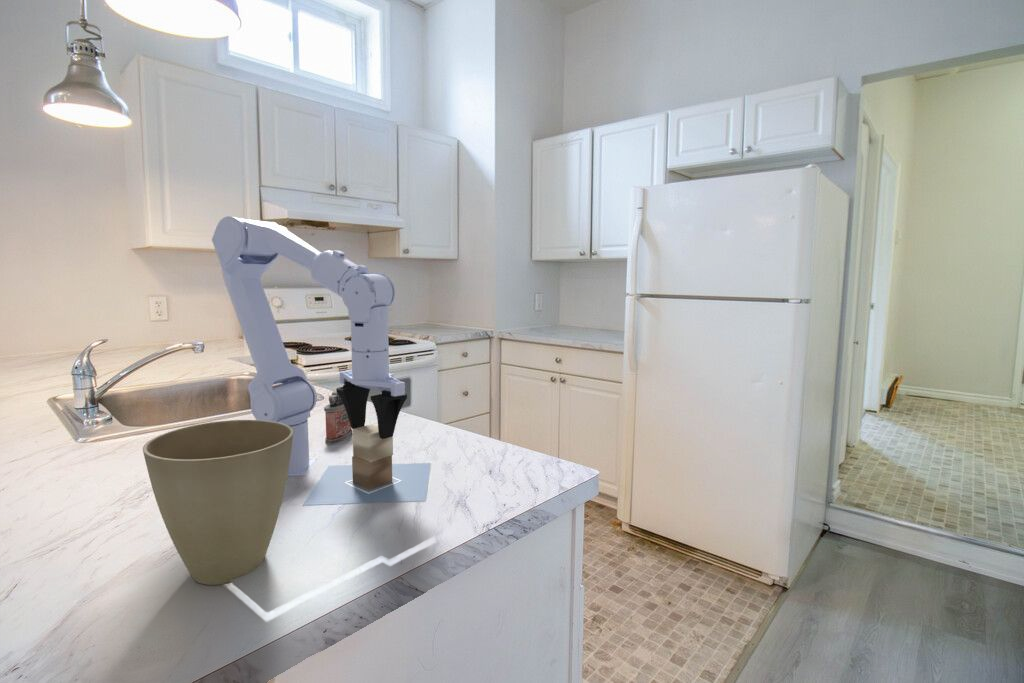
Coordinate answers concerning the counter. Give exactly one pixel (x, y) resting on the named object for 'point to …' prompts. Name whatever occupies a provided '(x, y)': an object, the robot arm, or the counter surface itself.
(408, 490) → the blueprint board
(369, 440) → the ash block
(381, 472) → the walnut block
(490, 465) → the counter surface
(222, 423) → the plant pot
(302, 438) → the robot arm
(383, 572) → the counter surface
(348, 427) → the lighter
